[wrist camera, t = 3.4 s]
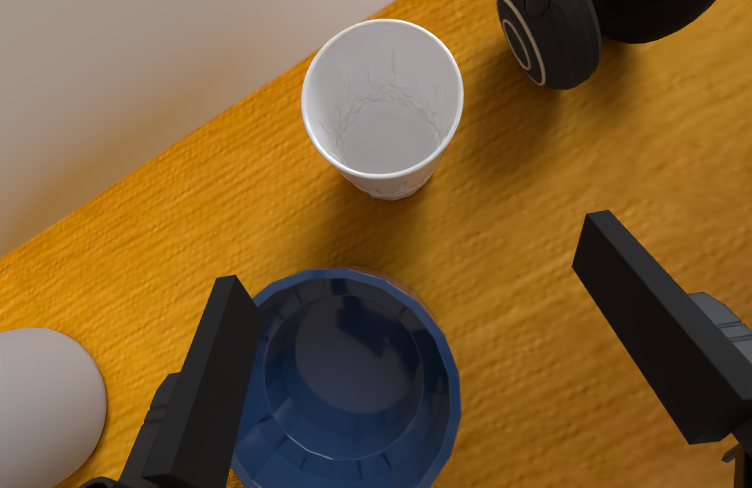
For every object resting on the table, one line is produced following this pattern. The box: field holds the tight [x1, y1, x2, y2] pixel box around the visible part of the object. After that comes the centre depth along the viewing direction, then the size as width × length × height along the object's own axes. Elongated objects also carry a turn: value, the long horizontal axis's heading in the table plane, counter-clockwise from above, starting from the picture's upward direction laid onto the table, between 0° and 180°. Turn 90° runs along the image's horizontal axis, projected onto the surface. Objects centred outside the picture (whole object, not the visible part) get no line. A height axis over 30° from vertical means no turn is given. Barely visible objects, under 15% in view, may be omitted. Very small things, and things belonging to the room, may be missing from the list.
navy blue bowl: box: [230, 266, 461, 488], centre depth 23 cm, size 14×14×7 cm
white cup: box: [301, 19, 464, 201], centre depth 22 cm, size 8×8×10 cm
